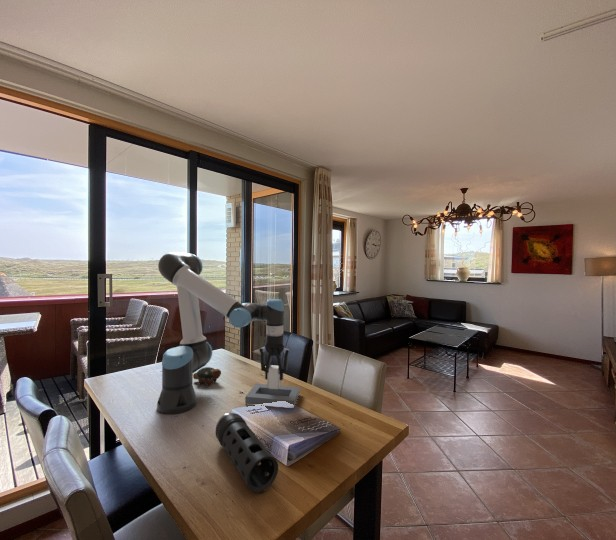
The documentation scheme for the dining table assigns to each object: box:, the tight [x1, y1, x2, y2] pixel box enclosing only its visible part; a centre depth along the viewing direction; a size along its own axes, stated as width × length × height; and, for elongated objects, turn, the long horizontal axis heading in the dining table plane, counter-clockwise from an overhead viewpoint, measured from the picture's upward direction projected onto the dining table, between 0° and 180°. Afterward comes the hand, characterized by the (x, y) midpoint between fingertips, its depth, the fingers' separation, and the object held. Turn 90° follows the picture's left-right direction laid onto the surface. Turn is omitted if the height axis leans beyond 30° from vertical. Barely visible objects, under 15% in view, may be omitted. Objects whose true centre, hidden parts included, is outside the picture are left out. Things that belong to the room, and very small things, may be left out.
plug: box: [269, 364, 279, 389], centre depth 132 cm, size 4×4×9 cm
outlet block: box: [244, 383, 301, 406], centre depth 132 cm, size 21×14×4 cm, turn 82°
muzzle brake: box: [215, 412, 279, 494], centre depth 89 cm, size 10×28×10 cm, turn 34°
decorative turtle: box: [193, 366, 222, 387], centre depth 148 cm, size 10×15×8 cm, turn 80°
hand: (274, 386), depth 132 cm, fingers closed on plug, 4 cm apart
